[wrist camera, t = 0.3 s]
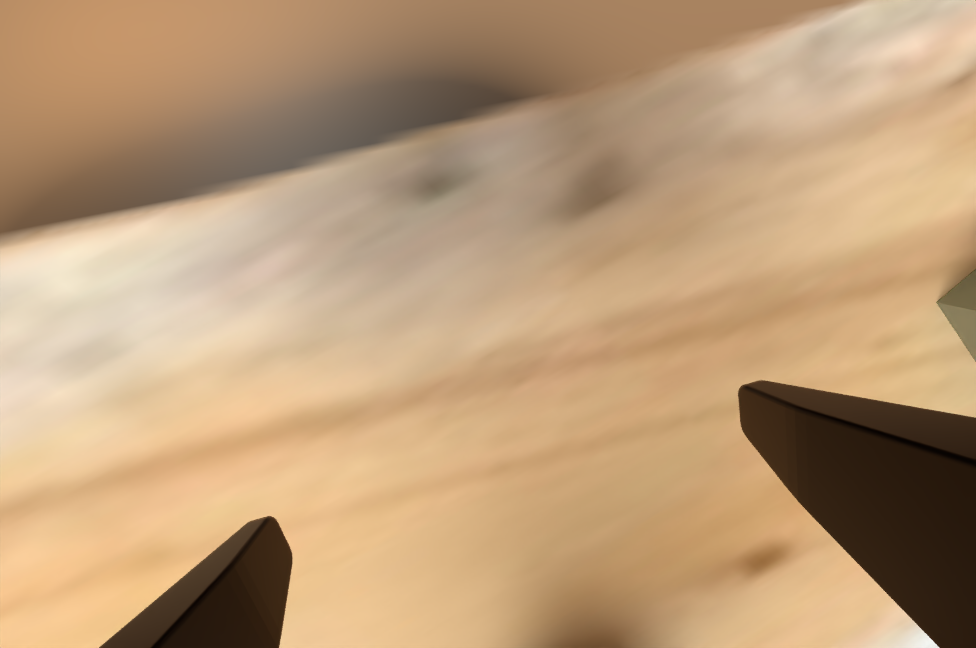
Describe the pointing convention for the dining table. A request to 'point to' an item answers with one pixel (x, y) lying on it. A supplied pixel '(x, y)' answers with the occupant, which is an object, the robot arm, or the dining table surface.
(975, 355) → the glazed tile block
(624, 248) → the dining table surface
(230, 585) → the robot arm
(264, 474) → the dining table surface
